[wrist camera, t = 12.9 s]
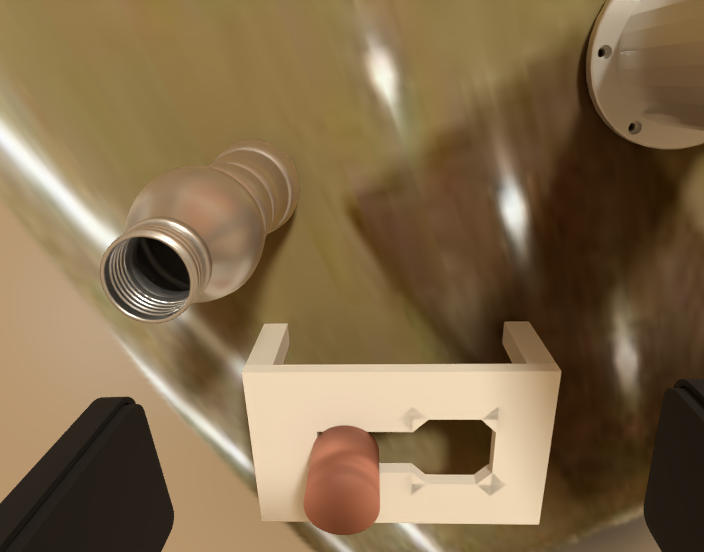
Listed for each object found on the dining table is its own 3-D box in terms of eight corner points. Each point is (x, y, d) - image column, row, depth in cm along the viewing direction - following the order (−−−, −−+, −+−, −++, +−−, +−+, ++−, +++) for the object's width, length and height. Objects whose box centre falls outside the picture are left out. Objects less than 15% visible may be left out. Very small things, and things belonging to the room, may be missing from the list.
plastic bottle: (207, 203, 37) (44, 321, 19) (236, 120, 35) (81, 160, 17) (285, 237, 38) (201, 382, 20) (318, 157, 36) (258, 236, 17)
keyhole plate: (528, 321, 40) (561, 371, 33) (513, 456, 45) (538, 524, 38) (264, 323, 41) (241, 372, 34) (278, 455, 46) (261, 521, 39)
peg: (378, 378, 41) (379, 477, 31) (378, 427, 43) (380, 535, 32) (319, 379, 41) (300, 476, 31) (322, 427, 43) (305, 534, 33)
